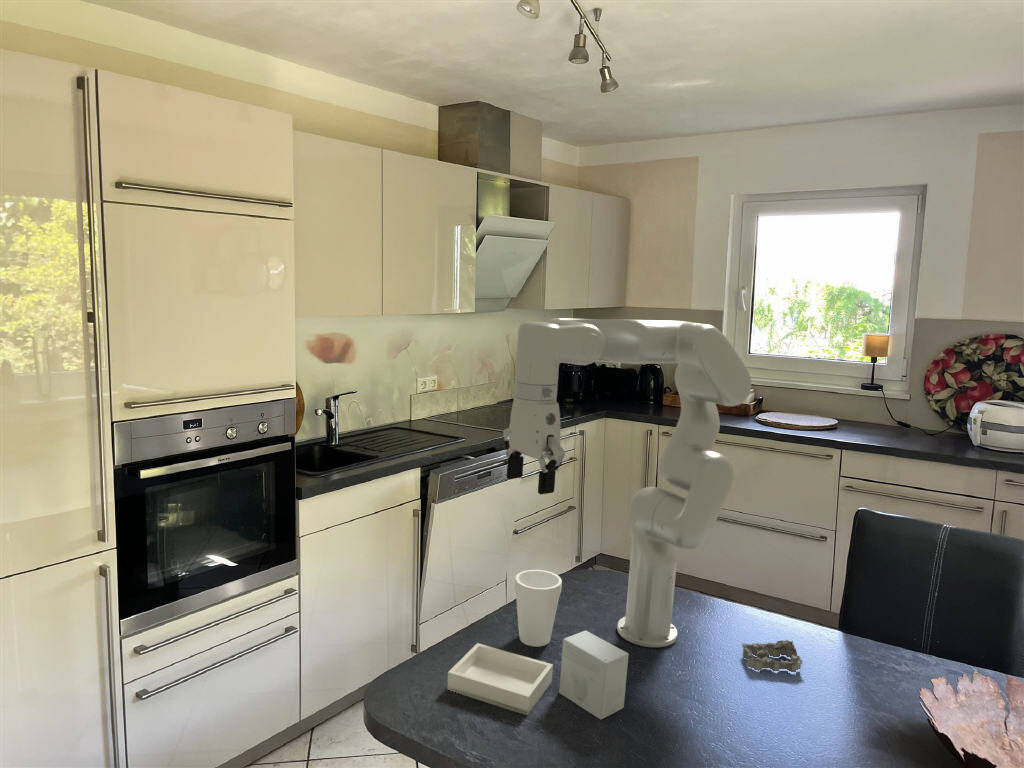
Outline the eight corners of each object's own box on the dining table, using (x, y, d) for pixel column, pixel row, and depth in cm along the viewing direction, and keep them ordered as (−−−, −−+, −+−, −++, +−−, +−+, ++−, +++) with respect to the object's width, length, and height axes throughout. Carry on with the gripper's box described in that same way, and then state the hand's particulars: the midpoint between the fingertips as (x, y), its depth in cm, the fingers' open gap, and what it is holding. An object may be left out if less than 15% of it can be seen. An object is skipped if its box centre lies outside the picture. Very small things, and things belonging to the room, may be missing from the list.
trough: (476, 659, 142) (477, 643, 142) (551, 682, 136) (553, 664, 136) (447, 690, 132) (448, 672, 131) (527, 715, 126) (528, 696, 125)
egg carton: (792, 658, 150) (795, 640, 149) (803, 679, 142) (806, 659, 142) (739, 653, 151) (741, 634, 150) (747, 673, 143) (749, 653, 143)
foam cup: (553, 653, 146) (557, 592, 144) (508, 646, 148) (511, 585, 146) (560, 631, 155) (564, 572, 153) (517, 624, 157) (520, 567, 155)
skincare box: (625, 707, 130) (630, 652, 128) (601, 721, 125) (605, 664, 124) (582, 680, 137) (586, 628, 136) (557, 692, 133) (561, 638, 131)
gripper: (583, 399, 125) (576, 496, 128) (524, 383, 139) (519, 470, 142) (548, 402, 121) (541, 502, 124) (491, 384, 135) (486, 475, 138)
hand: (529, 485), depth 133 cm, fingers open, 9 cm apart
